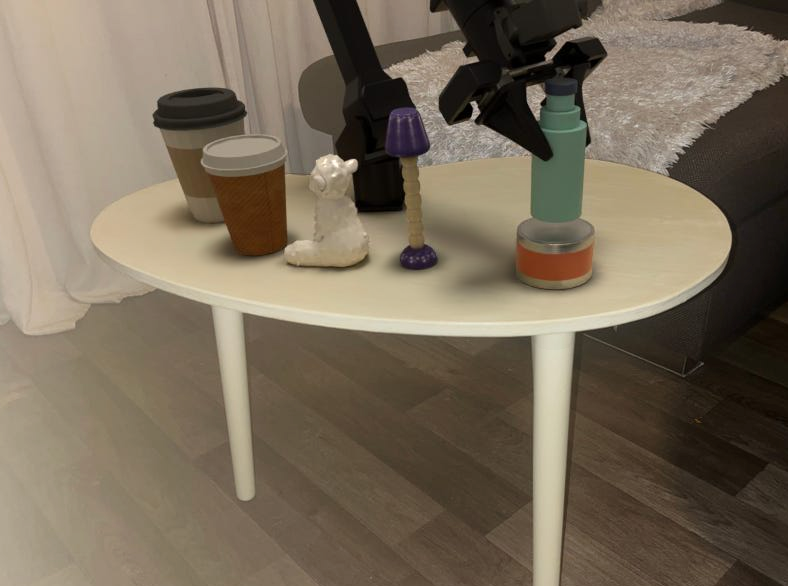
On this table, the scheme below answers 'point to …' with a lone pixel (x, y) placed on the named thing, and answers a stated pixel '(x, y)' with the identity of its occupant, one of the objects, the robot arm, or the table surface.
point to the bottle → (559, 156)
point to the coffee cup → (198, 139)
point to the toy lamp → (411, 180)
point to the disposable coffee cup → (250, 190)
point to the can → (554, 253)
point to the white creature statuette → (332, 219)
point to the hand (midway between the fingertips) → (568, 152)
